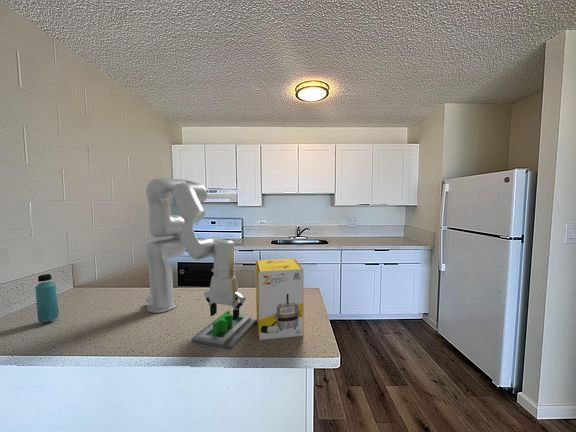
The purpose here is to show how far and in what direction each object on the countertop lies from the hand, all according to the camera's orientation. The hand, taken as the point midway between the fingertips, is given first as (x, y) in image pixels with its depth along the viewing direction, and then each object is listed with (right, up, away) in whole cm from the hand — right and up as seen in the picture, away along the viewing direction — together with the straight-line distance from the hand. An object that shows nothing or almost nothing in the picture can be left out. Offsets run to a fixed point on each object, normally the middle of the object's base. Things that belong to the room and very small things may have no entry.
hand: (224, 316), depth 101 cm
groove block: (+1, -6, 0) cm, 6 cm away
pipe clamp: (0, -5, 0) cm, 5 cm away
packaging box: (+21, -5, +3) cm, 21 cm away
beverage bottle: (-75, -6, +8) cm, 75 cm away
